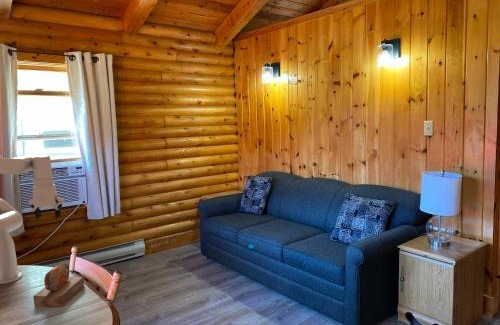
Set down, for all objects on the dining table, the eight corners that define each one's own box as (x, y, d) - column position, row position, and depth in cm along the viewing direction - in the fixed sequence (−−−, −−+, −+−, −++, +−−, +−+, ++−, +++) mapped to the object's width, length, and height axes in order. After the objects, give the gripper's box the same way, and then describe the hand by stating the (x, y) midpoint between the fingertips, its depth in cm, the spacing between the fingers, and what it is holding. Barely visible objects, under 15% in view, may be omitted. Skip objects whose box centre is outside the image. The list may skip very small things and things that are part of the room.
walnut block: (34, 307, 166) (33, 296, 165) (59, 287, 184) (58, 277, 183) (62, 307, 165) (60, 296, 164) (84, 287, 182) (83, 277, 182)
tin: (51, 294, 166) (49, 274, 165) (44, 294, 166) (41, 274, 165) (70, 278, 181) (68, 260, 180) (64, 278, 181) (62, 260, 180)
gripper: (21, 184, 184) (26, 220, 186) (57, 183, 182) (61, 219, 184) (31, 180, 191) (36, 215, 193) (66, 179, 189) (70, 215, 192)
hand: (48, 217), depth 189 cm, fingers open, 9 cm apart
